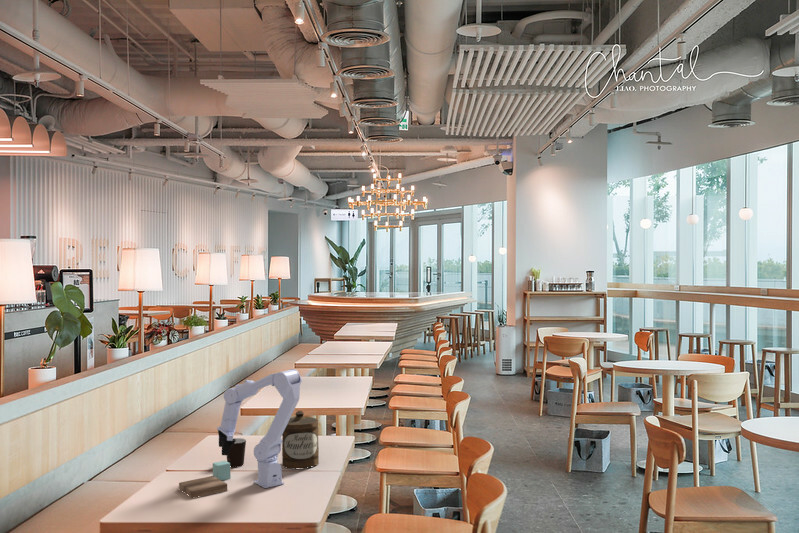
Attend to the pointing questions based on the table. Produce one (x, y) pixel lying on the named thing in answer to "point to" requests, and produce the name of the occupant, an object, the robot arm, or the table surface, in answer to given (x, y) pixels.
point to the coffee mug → (237, 453)
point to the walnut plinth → (203, 486)
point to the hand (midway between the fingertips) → (223, 450)
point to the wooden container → (300, 442)
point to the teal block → (221, 470)
